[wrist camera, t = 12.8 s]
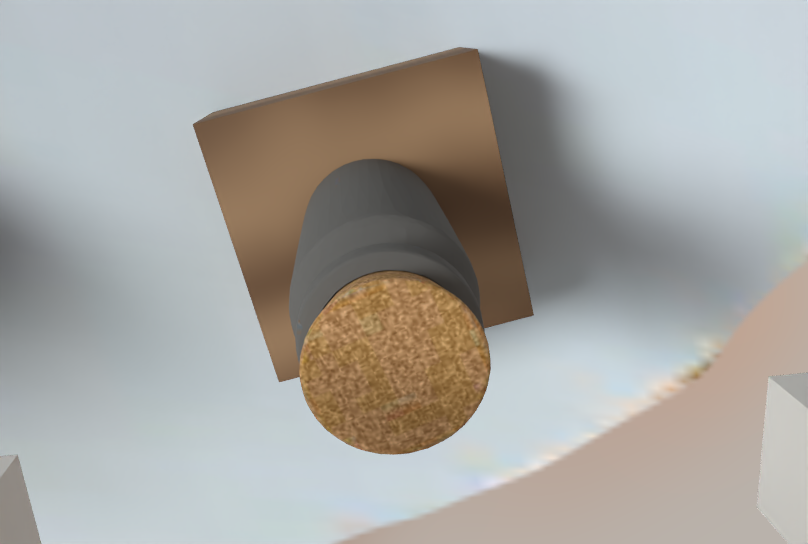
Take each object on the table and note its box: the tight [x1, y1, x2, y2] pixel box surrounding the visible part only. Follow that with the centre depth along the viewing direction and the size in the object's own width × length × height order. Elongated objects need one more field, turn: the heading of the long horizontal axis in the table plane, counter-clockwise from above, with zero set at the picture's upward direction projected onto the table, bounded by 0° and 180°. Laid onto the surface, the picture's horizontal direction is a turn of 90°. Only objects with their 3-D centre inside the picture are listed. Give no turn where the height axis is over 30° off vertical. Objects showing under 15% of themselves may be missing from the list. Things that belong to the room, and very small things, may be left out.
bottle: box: [289, 159, 491, 454], centre depth 26 cm, size 6×6×15 cm
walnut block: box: [193, 47, 534, 382], centre depth 35 cm, size 12×12×5 cm
